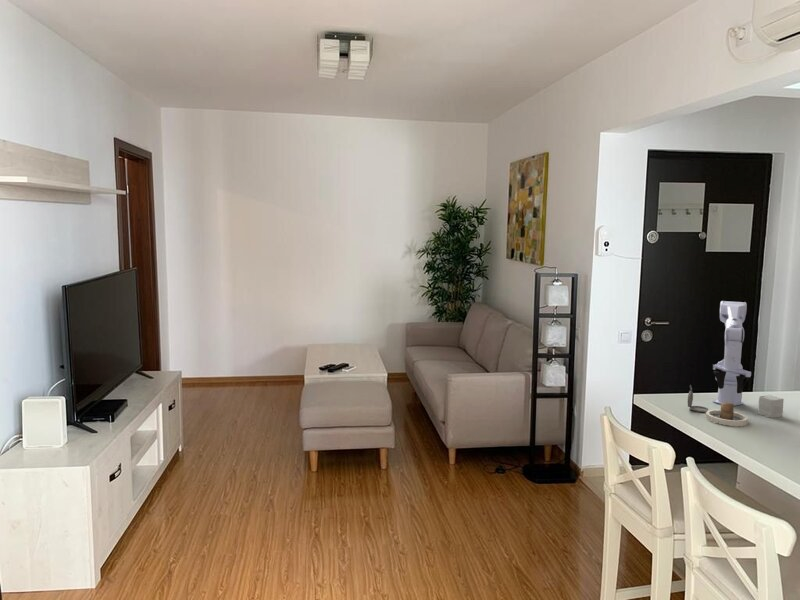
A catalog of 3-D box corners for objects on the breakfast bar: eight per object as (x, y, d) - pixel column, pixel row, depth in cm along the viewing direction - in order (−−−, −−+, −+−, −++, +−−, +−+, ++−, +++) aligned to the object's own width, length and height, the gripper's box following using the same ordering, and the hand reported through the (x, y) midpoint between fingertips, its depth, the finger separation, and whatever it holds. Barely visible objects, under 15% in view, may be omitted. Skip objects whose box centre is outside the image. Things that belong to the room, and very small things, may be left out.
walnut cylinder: (724, 416, 230) (725, 401, 229) (735, 419, 226) (736, 404, 225) (717, 417, 228) (718, 402, 227) (728, 421, 224) (729, 405, 223)
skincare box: (782, 417, 232) (784, 398, 231) (770, 418, 230) (772, 400, 229) (769, 412, 238) (770, 394, 237) (757, 413, 236) (758, 395, 235)
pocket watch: (711, 413, 236) (713, 388, 235) (690, 412, 236) (691, 388, 235) (701, 407, 244) (703, 383, 243) (681, 406, 244) (682, 383, 243)
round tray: (720, 412, 236) (720, 407, 236) (755, 422, 224) (755, 417, 224) (698, 417, 230) (698, 412, 230) (732, 428, 218) (733, 423, 217)
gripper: (709, 354, 237) (706, 387, 239) (744, 362, 225) (741, 396, 226) (720, 353, 241) (717, 385, 242) (755, 360, 228) (752, 394, 230)
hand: (730, 390), depth 234 cm, fingers open, 7 cm apart
